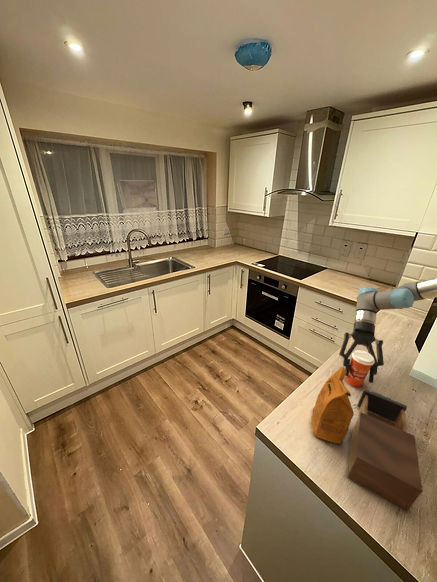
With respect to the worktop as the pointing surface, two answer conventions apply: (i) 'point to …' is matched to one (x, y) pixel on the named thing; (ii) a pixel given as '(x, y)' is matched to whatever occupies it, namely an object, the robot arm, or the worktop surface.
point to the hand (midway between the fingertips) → (358, 379)
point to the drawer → (383, 408)
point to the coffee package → (332, 409)
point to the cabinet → (385, 461)
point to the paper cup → (359, 367)
